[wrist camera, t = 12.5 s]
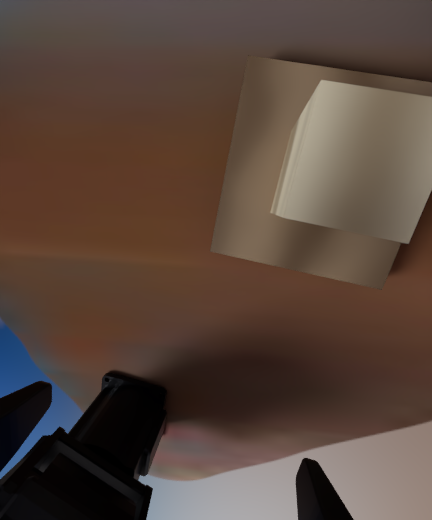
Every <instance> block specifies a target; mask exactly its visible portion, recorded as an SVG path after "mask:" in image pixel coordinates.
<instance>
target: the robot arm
mask: <svg viewBox="0 0 432 520" xmlns="http://www.w3.org/2000/svg"><path fill="white" fill-rule="evenodd" d="M161 393H162V394H161ZM166 395H167V391H166V390H165V389H164V388H162V387H158V386H155V385H151V384H148V383H144V382H140V381H137V380H133V379H130V378H126V377H123V376H119V375H115V374H112V373H106V374H105V375H104V376H103V378H102V389H101V392H100V393H99V395H98V396H97V397H96V399H95V400H94V401H93V402H92V404H91V405H90V406H89V407H88V409H87V410H86V411H85V413H84V414H83V415H82V417H81V418H80V419H79V420H78V422H77V423H76V424H75V425H74V427H73V428H72V429H71V430H70V432H69V433H68V434H67V433H66V432H65V430H64V429H63V428H61V427H59V428H58V429H57V430H56V431H55V432H54V433H53V434H52V435H48V436H42V437H41V438H40V440H39V441H38V442H37V443H36V444H35V445H34V446H33V447H32V449H31V450H30V451H29V452H28V453H27V454H26V455H25V456H24V457H23V458H22V459H21V460H20V461H19V462H18V463H17V464H16V465H15V466H14V467H13V468H12V469H11V470H10V471H9V472H8V473H7V474H5V475H4V476H3V477H2V478H1V479H0V520H146V517H147V512H148V508H149V504H150V499H151V495H152V490H153V488H151V487H150V486H148V485H146V486H145V485H144V484H142V483H141V482H139V481H138V479H139V476H140V475H141V476H146V475H147V474H148V472H149V469H150V466H151V464H152V461H153V458H154V456H155V453H156V450H157V448H158V445H159V442H160V440H161V437H162V434H163V432H164V427H165V421H166V415H167V412H166V410H165V409H164V406H165V400H166ZM51 402H52V385H51V384H50V383H47V382H44V381H38V382H35V383H33V384H31V385H29V386H26V387H24V388H22V389H20V390H17V391H15V392H13V393H11V394H9V395H6V396H4V397H2V398H0V472H1V470H2V469H3V468H4V467H5V466H6V464H7V463H8V462H9V461H10V460H11V458H12V457H13V456H14V455H15V453H16V452H17V451H18V449H19V448H20V447H21V445H22V444H23V443H24V441H25V440H26V438H27V437H28V436H29V434H30V433H31V432H32V430H33V429H34V428H35V426H36V425H37V424H38V422H39V421H40V420H41V418H42V417H43V415H44V414H45V413H46V411H47V410H48V409H49V407H50V405H51ZM296 492H297V508H298V520H353V518H352V516H351V515H350V513H349V512H348V510H347V508H346V507H345V505H344V503H343V502H342V500H341V499H340V497H339V495H338V494H337V492H336V491H335V489H334V487H333V486H332V484H331V483H330V481H329V479H328V478H327V476H326V475H325V473H324V471H323V470H322V468H321V467H320V465H319V463H318V462H317V461H315V460H311V459H308V458H304V459H303V460H302V463H301V465H300V467H299V470H298V472H297V475H296Z"/></svg>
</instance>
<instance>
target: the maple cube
mask: <svg viewBox="0 0 432 520" xmlns="http://www.w3.org/2000/svg"><path fill="white" fill-rule="evenodd" d="M431 190H432V97H429V96H422V95H416V94H409V93H403V92H397V91H390V90H384V89H377V88H371V87H364V86H358V85H352V84H345V83H339V82H332V81H326V80H321V81H320V83H319V84H318V86H317V88H316V89H315V91H314V93H313V95H312V96H311V98H310V100H309V101H308V103H307V105H306V107H305V108H304V110H303V112H302V113H301V115H300V117H299V119H298V120H297V122H296V124H295V125H294V127H293V129H292V130H291V134H290V138H289V141H288V145H287V149H286V153H285V157H284V161H283V165H282V169H281V173H280V177H279V180H278V184H277V188H276V192H275V196H274V200H273V204H272V208H271V212H270V213H272V214H275V215H277V216H280V217H282V218H286V219H291V220H296V221H301V222H306V223H310V224H315V225H320V226H325V227H330V228H334V229H339V230H344V231H349V232H354V233H358V234H363V235H368V236H373V237H378V238H382V239H387V240H392V241H397V242H402V243H406V244H409V242H410V239H411V237H412V235H413V232H414V230H415V228H416V225H417V223H418V221H419V218H420V216H421V214H422V211H423V209H424V207H425V204H426V202H427V200H428V197H429V195H430V193H431Z"/></svg>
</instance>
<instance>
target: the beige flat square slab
mask: <svg viewBox="0 0 432 520" xmlns="http://www.w3.org/2000/svg"><path fill="white" fill-rule="evenodd" d="M321 80H326V81H332V82H339V83H345V84H352V85H358V86H364V87H371V88H377V89H384V90H390V91H397V92H403V93H409V94H416V95H422V96H429V97H432V82H425V81H418V80H412V79H405V78H398V77H391V76H384V75H378V74H371V73H364V72H357V71H351V70H344V69H337V68H330V67H323V66H317V65H310V64H303V63H296V62H289V61H283V60H276V59H269V58H262V57H255V56H249V55H248V58H247V63H246V68H245V74H244V79H243V84H242V89H241V94H240V99H239V105H238V110H237V115H236V120H235V125H234V130H233V136H232V141H231V146H230V151H229V156H228V161H227V167H226V172H225V177H224V182H223V187H222V192H221V197H220V203H219V208H218V213H217V218H216V223H215V228H214V234H213V239H212V244H211V249H210V252H215V253H219V254H224V255H228V256H233V257H237V258H242V259H246V260H251V261H255V262H260V263H264V264H269V265H273V266H278V267H282V268H286V269H291V270H295V271H300V272H304V273H309V274H313V275H318V276H322V277H327V278H331V279H336V280H340V281H345V282H349V283H354V284H358V285H362V286H367V287H371V288H376V289H380V290H382V288H383V286H384V283H385V281H386V279H387V276H388V274H389V271H390V269H391V267H392V264H393V262H394V259H395V257H396V255H397V252H398V250H399V247H400V245H401V243H402V242H397V241H392V240H387V239H382V238H378V237H373V236H368V235H363V234H358V233H354V232H349V231H344V230H339V229H334V228H330V227H325V226H320V225H315V224H310V223H306V222H301V221H296V220H291V219H286V218H282V217H280V216H277V215H275V214H272V213H270V212H271V208H272V204H273V200H274V196H275V192H276V188H277V184H278V180H279V177H280V173H281V169H282V165H283V161H284V157H285V153H286V149H287V145H288V141H289V138H290V134H291V130H292V129H293V127H294V125H295V124H296V122H297V120H298V119H299V117H300V115H301V113H302V112H303V110H304V108H305V107H306V105H307V103H308V101H309V100H310V98H311V96H312V95H313V93H314V91H315V89H316V88H317V86H318V84H319V83H320V81H321Z"/></svg>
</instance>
